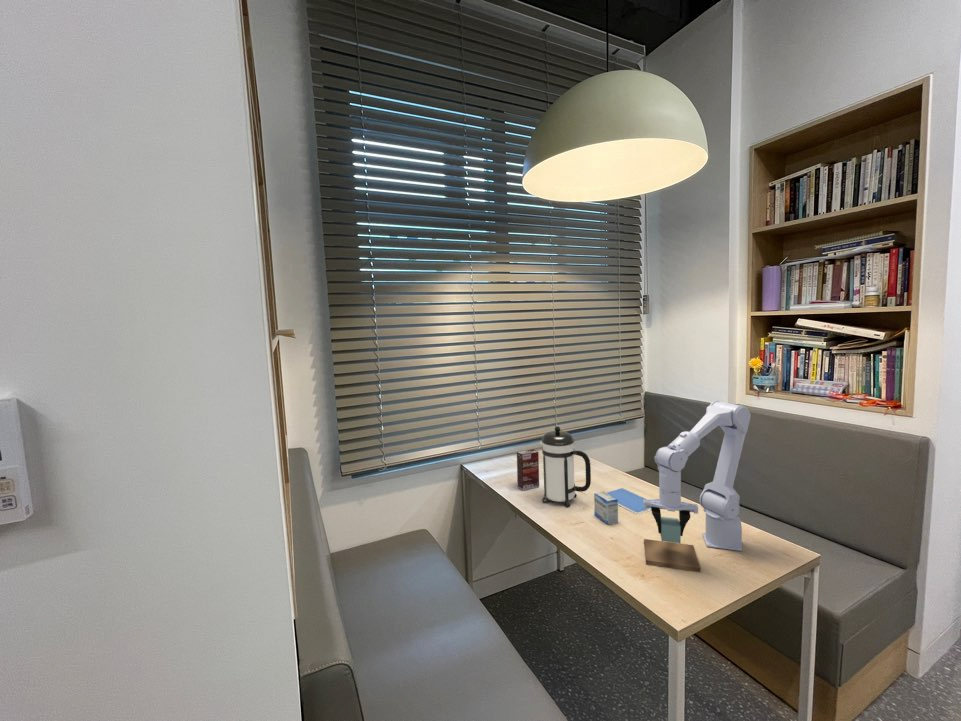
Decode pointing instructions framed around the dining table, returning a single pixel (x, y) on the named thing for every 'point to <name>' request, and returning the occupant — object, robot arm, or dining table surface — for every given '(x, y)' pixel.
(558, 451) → the coffee press
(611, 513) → the medicine box
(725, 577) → the dining table surface
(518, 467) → the supplement box
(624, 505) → the tablet computer
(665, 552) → the walnut board
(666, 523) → the teal cube
